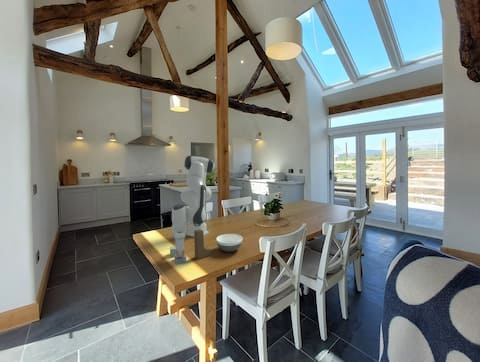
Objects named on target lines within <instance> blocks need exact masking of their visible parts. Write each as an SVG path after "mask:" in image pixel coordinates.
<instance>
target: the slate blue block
mask: <svg viewBox="0 0 480 362" xmlns="http://www.w3.org/2000/svg"><path fill="white" fill-rule="evenodd" d="M184 254H185V257H177V258H176V255H175V256H174V264H175V265H176V264H183V263H187V254H186V253H184Z"/></svg>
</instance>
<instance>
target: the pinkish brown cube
mask: <svg viewBox="0 0 480 362" xmlns="http://www.w3.org/2000/svg"><path fill="white" fill-rule="evenodd" d="M185 254H186V253H185V247H184V248H183V251H182V255H179V251H177V249H176V258H177V257H185Z"/></svg>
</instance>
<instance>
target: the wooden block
mask: <svg viewBox="0 0 480 362" xmlns="http://www.w3.org/2000/svg"><path fill="white" fill-rule="evenodd" d="M204 236H205V235H204V233H203V230H201V229H199V230H195V231H194V238H193V240H194V258H196V259H197V260H200V259H204V258H206V257H208V256H209V257H210V256H211V249H210V248H209V247H206V246H205V241H204V240H205V239H204Z"/></svg>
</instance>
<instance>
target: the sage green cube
mask: <svg viewBox="0 0 480 362" xmlns="http://www.w3.org/2000/svg"><path fill="white" fill-rule="evenodd" d="M169 247H170V248H169V254H170V255H169V256H170V258H172V257H173V258H174V257H175V255H176V245H175V246H173V245H172V246H169Z"/></svg>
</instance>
